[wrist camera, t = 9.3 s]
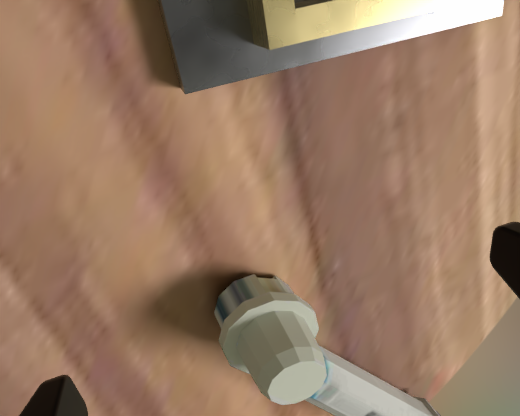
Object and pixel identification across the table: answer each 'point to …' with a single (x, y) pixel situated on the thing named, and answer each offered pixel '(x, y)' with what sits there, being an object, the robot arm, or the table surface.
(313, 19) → the framed base plate
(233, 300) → the light grey long piece
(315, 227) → the table surface
